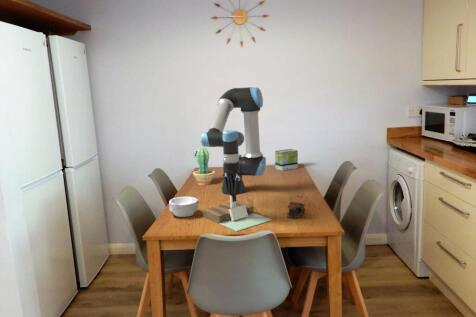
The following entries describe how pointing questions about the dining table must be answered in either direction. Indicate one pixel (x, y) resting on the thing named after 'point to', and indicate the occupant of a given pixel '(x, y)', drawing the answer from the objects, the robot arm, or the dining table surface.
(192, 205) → the white round bowl
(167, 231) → the dining table surface
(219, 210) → the board
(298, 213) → the pottery mug
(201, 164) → the potted cactus
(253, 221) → the mat
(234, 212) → the white flat block
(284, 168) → the tea box
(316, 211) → the dining table surface
